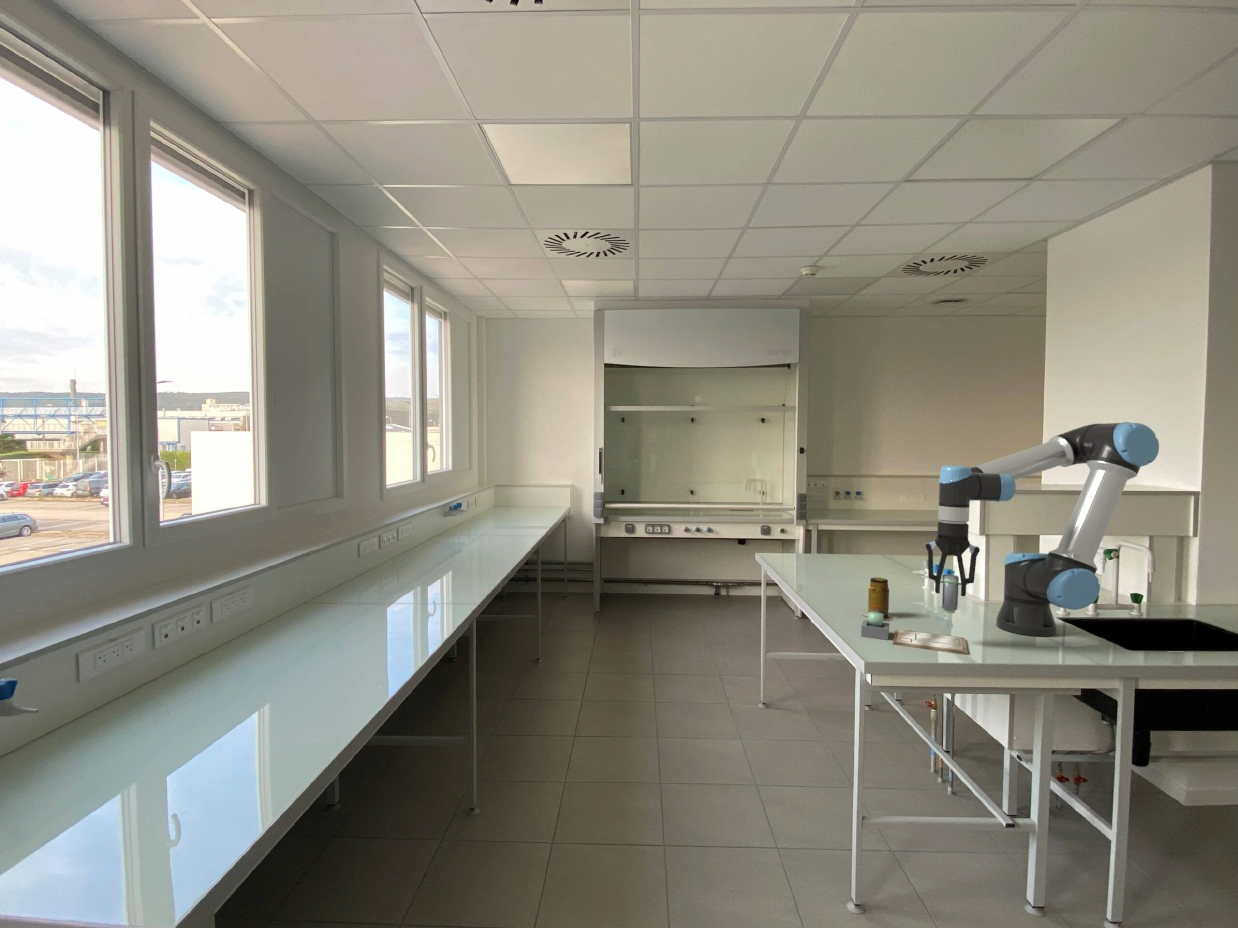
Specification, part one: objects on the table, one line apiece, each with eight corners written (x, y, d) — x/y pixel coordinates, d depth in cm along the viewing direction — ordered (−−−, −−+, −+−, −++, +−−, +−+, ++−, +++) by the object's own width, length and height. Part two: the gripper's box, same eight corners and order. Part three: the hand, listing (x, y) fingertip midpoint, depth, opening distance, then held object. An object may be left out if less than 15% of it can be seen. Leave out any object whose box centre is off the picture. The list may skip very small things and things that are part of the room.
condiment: (873, 611, 208) (874, 575, 208) (899, 617, 202) (900, 580, 202) (862, 615, 204) (863, 578, 203) (887, 621, 197) (888, 583, 197)
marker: (957, 611, 176) (958, 575, 176) (957, 614, 173) (959, 577, 172) (941, 609, 178) (942, 573, 178) (941, 612, 175) (943, 576, 174)
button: (883, 622, 184) (883, 612, 184) (882, 626, 180) (882, 616, 180) (868, 621, 186) (869, 610, 186) (867, 624, 182) (867, 614, 182)
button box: (889, 633, 185) (889, 623, 185) (887, 639, 178) (888, 629, 178) (863, 629, 188) (863, 619, 188) (861, 636, 182) (861, 625, 181)
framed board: (964, 639, 179) (964, 637, 179) (967, 654, 167) (967, 651, 167) (895, 630, 187) (895, 628, 187) (892, 644, 175) (893, 641, 175)
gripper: (987, 522, 174) (983, 607, 175) (919, 518, 182) (916, 599, 182) (989, 525, 168) (985, 613, 168) (919, 520, 175) (915, 605, 176)
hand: (949, 606), depth 175 cm, fingers closed on marker, 4 cm apart
